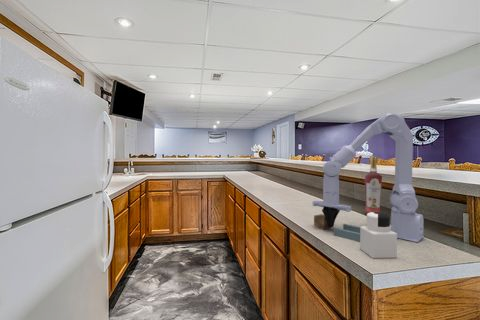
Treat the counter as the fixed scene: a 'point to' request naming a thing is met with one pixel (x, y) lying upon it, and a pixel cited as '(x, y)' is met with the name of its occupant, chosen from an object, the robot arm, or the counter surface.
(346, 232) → the chute
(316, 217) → the walnut block
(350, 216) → the counter surface
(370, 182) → the liquor
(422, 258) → the counter surface
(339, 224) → the counter surface
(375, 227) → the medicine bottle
